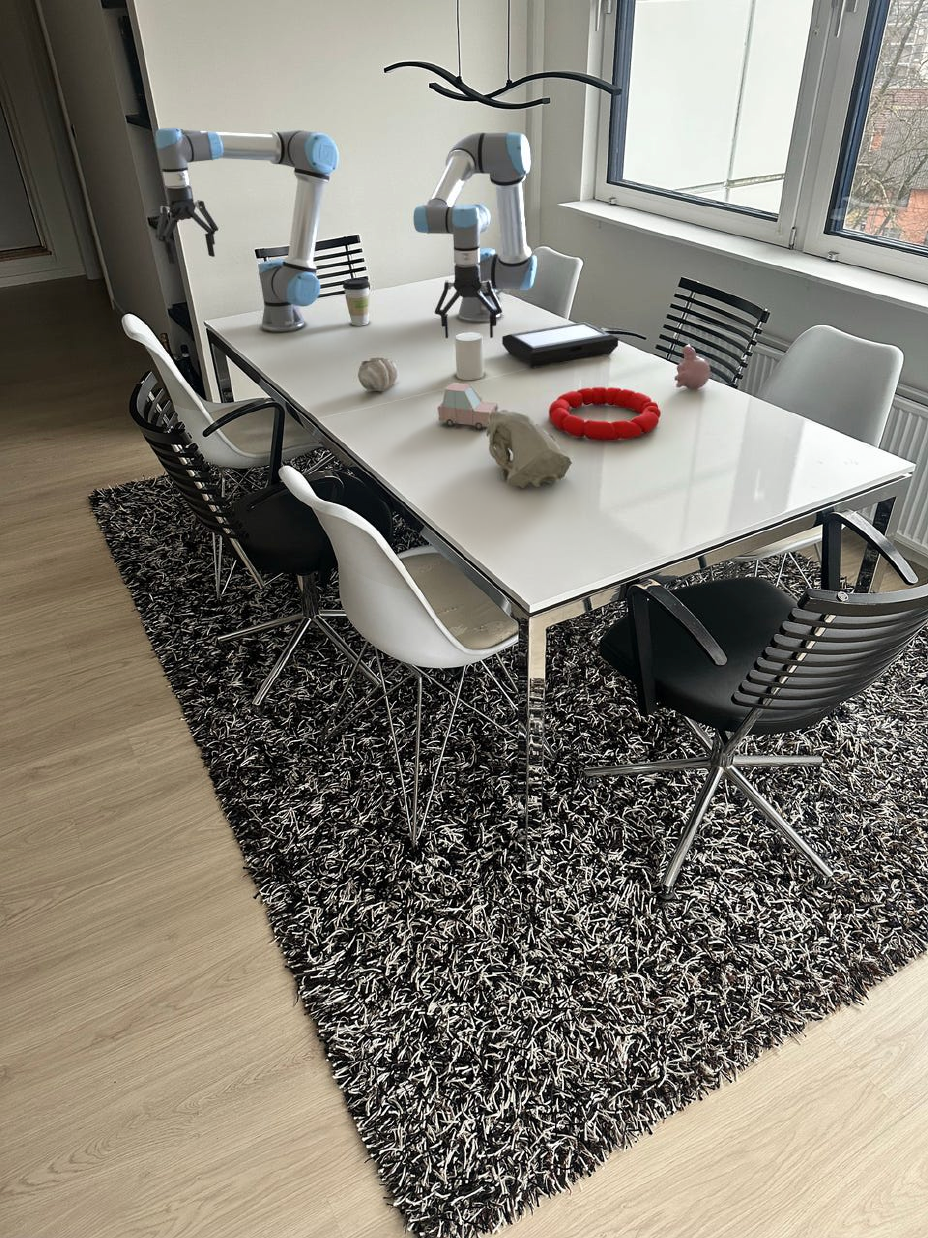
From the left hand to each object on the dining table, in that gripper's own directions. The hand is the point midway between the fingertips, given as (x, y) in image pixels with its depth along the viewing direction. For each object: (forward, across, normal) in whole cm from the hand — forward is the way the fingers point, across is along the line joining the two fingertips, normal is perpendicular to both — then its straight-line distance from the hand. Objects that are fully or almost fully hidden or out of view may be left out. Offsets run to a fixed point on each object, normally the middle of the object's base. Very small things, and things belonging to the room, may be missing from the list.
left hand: (192, 259), depth 282 cm
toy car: (+31, +24, -105) cm, 112 cm away
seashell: (+31, +22, -67) cm, 77 cm away
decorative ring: (+31, +51, -130) cm, 144 cm away
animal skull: (+31, +14, -137) cm, 141 cm away
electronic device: (+31, +84, -82) cm, 121 cm away
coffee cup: (+31, +58, -5) cm, 66 cm away
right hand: (+19, +50, -76) cm, 93 cm away
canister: (+31, +50, -76) cm, 96 cm away
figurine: (+31, +88, -131) cm, 161 cm away
